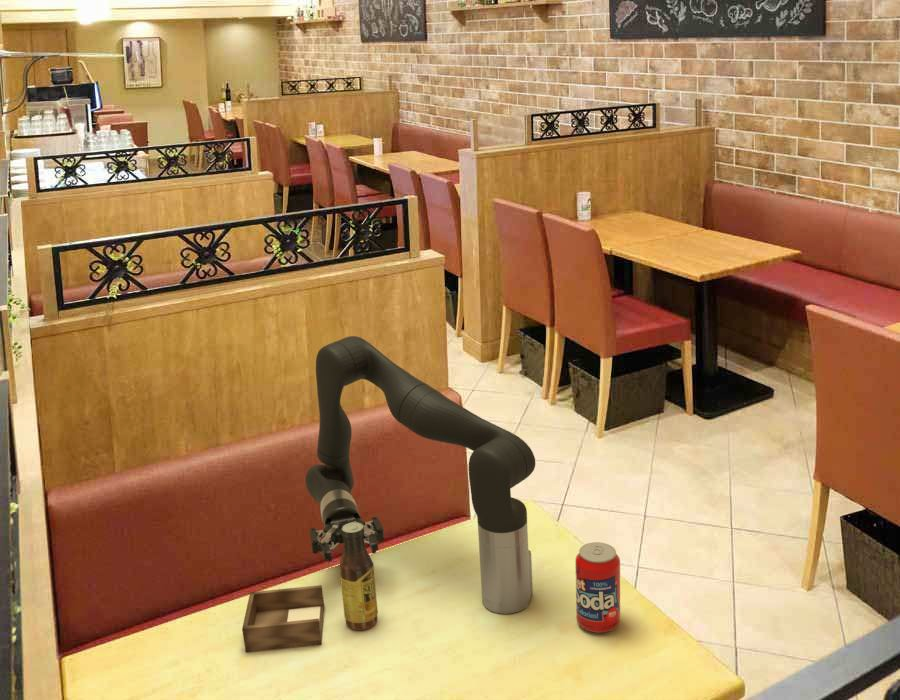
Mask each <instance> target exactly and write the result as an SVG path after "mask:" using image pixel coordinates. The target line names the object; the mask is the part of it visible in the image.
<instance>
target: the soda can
mask: <svg viewBox="0 0 900 700" xmlns="http://www.w3.org/2000/svg"><path fill="white" fill-rule="evenodd" d="M575 602H576V603H575V605H576V614H575V615H576V621H577V623H578V625H579V626H580V627H581V628H583V629H584V630H586V631H588V632H592V633H608V632H610V631H613V630H614V629H616V628H617V627H618V626H619V625H620V621H621V559H620V556H619V555H618V554H617V550H616V548H615V547H613V546H612V545H611V544H609V543H605V542H600V541H599V542H598V541H597V542H594V541H593V542H588V543H585V544H583V545H581V547H580V548H579V551H578V553H577V555H576V556H575Z"/></svg>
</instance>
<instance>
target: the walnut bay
mask: <svg viewBox="0 0 900 700" xmlns="http://www.w3.org/2000/svg"><path fill="white" fill-rule="evenodd" d="M323 593H324V591H323V585H322V584H319V585H309V586H299V587H289V588H288V587H287V588H279V589H269V590H259V591H250V592H249V597H248V599H247V605H246V609H245V615H244V617H243V619H244V620H243V623H242V627H241V628H242V629H241V632H242V637H243V641H244V642H243V644H244V650H245V653H254V652H261V651H262V652H264V651H272V650H282V649H283V650H284V649H291V648H302V647H311V646H313V647H314V646H321V645H322V643H323V642H322V640H323V629H324V620H325V619H324V616H325V601H324V594H323Z"/></svg>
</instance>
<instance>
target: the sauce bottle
mask: <svg viewBox="0 0 900 700" xmlns="http://www.w3.org/2000/svg"><path fill="white" fill-rule="evenodd" d="M342 536H343V538H344V543H343V544H344V545H343V549H344V550H343V552H342V554H341V556H340V558H339V569H340V570H339V571H340V572H339V573H340V574H339V575H340V585H341V595H342V606H343V615H344V619H345V624H346V625H347V627H348V628H350V629H351V630H354V631H364V630H368V629H370V628H372V627H374V625H376V624H377V621H378V613H379V612H378V611H379V610H378V600H377V590H376V589H377V587H376V578H375V567H374V562H373V560H372V558H371V556H370V553H369V552H368V550H367V548H366V543H364V526H363V525H362V524H361V523H358V522H352V523H348V524H345V525H344V526H343V527H342Z"/></svg>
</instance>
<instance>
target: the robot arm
mask: <svg viewBox="0 0 900 700" xmlns="http://www.w3.org/2000/svg"><path fill="white" fill-rule="evenodd" d="M315 378H316V390H317V392H316V393H317V400H318V402H317V403H318V411H319V413H318V414H319V426H318V427H319V428H318V439H317V449H316V456H317V459H318V461H320V463H322V464H315V465H313V466H311V467H309V468H308V470H307V472H306V475H305V486H306V489H307V492H308V494H309V495H310V497H311V498H312V499H313V500H315V502H317V503H318V504H319V507H320V515H321V520H322V521H321V522H322V523H323V527H324V528H323V529H321V530H317V528H316V527H311V528H309V535H310V536H309V537H310V545H311V552H312V554H314V555H315V554H318V553H319V552H321V553H322V557H323V560H324V561H327V563H329V562H330V563H331V562H332V561H333V560H332V553H331V550H334V549H336V547H337V546H338V545H339V544H344V538H343V536H342V527H343V526H344V525H345V524H348V523H352V522H358V523H361V524H362V525H363V526H364V544H369V545H368V546H369V548H370V551H371V553H372V554H373V555H374V554H376V553H377V551H379V542H384V541H385V533H384V530H385V529H384V527H383V524H382V523H381V521H380V520H379V518H378V516H372V517H371V520H369V521H364V519H362V518H361V515H360V511H359V509H358V506H357V503H356V501H355V499H354V498H353V495H352V492H351V491H352V490H353V488H354V483H355V482H354V480H355V479H354V474H353V470H352V466H351V462H350V461H351V460H350V450H351V449H350V448H351V442H352V424H351V422H350V421H351V420H350V418H349V417H348V415H347V414H346V412H345V410H344V408H343V407H342V405H341V398H342V394H343V389H344V387H346V386H348V385H351V384H354V383H355V382H359V381H360V380H365V381H368V382H369V383H371V384H373V385H374V386H375V387H377V388H379V389H380V390H381V391H382V392H383V394H384V398H385V400H386V404H387V407H388V409H389V412H390V414H391V415H392V416H393V418H394V419H395V421H396V422H398V423H400V425H402V426H404V427H405V428H407V429H409V430H410V431H411V432H413V433H414V434H416V435H418V436H420V437H422V438H425V439H428V440H431V441H435V442H440V443H445V444H450V445H455V446H461V447H463V448H465V449H469V450H471V451H472V452H471V454H470V456H469V460H468V478H469V487H470V496H471V497H470V498H471V504H472V506H473V510H474V512H475V515H476V519H477V532H478V533H477V534H478V535H477V537H478V548H479V549H478V550H479V566H480V567H479V569H480V570H479V571H480V582H481V583H480V584H481V586H480V587H481V601H482V605H483V606H484V607H485V608H486V609H487V610H489V611H490V612H493V613H496V614H501V615H503V614H505V615H506V614H508V615H509V614H513V613H514V614H515V613H518V612H521V611H523V610H525V609H526V608H527V607H528V606H529V605H530V602H531V596H532V595H533V594H534V589H533V566H532V564H533V563H532V551H531V550H530V549H529V534H528V531H529V530H528V512H527V507H526V504H525V503H524V502H522V501H521V500H520V499H518V498H515V497H512V495H511V489H512V488H514V487H515V486H517V485H518V484H520V483H523V481H525V480H526V479H528V478H529V477H530V476H531V475H532V473H533V472H534V471H535V467H536V458H535V457H536V456H535V455H534V452H533V450H532V449H531V447H530V445H528V443H527V442H526V441H525V440H523V439H522V437H519V436H517V435H516V434H515V433H513V432H511V431H510V430H507V429H505V428H502V427H501V426H498V425H496V424H494V423H492V422H491V421H488V420H486V419H484V418H482V417H480V416H478V415H477V414H475V413H473V412H472V411H470V410H468V409H467V408H465V407H464V406H462V405H460V404H458V403H457V402H455V401H453V400H451V399H450V398H449V397H447V396H446V395H444V394H442V393H441V392H440V391H439V390H437V389H435V388H434V387H432V386H431V385H430V384H427V383H425V382H424V381H422V380H420V379H418V378H417V377H415V376H414V375H413V374H411V373H410V372H408V371H406V370H405V369H404V368H402V367H401V366H399V365H397V364H396V363H395V362H393V361H392V360H391V359H390V358H388V357H387V356H386V355H385V354H383V352H381V351H380V350H379V349H377V348H376V346H373V344H372V343H370V342H368V341H367V340H366V339H364V338H361V337H360V336H357V335H351V336H350V335H349V336H347V337H343V338H340V339H339V340H335V341H334V342H331V343H329V344H325V345H324V346H323V347H321V348H320V349H319V350H318V352H317V353H316V358H315ZM322 537H323V538H322Z"/></svg>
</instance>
